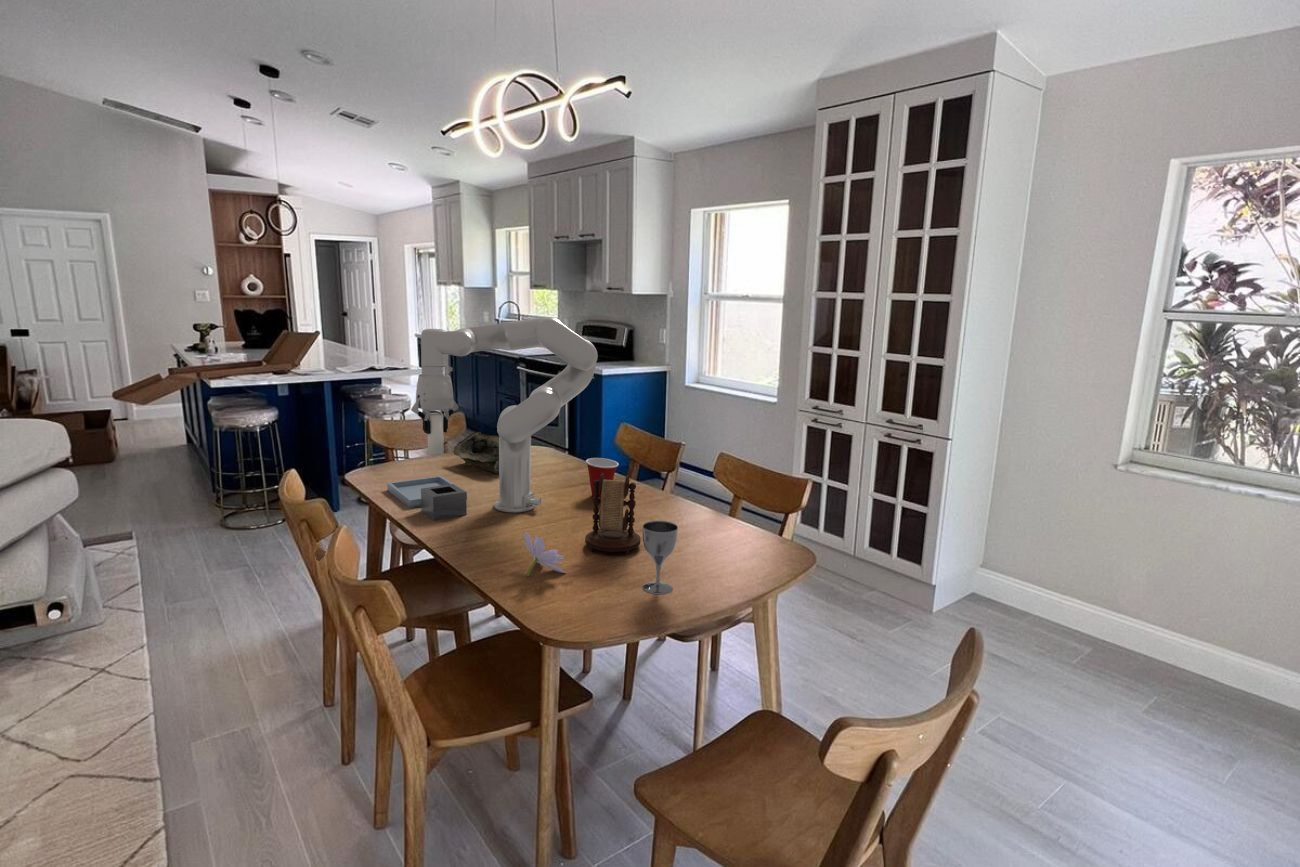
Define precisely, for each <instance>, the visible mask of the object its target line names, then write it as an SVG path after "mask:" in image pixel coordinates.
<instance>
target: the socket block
mask: <svg viewBox="0 0 1300 867" xmlns="http://www.w3.org/2000/svg"><path fill="white" fill-rule="evenodd" d="M454 484H455V483H453V484H449V485H442V486H435V487H428V488H421V507H420V508H421V512H422V513H423V514H425V515H426V516H428V517H429V518H430V519H431V520H433V521H439V520H443V519H450V518H454V517H459V516H460V517H461V516H466V515H467V514H468V512H467V507H468V506H467V499H466V492H467V491H466V490H465V489H463V488H461V487H460V486H458V485H457V484H455V485H454ZM456 485H457V486H458V487H457V486H456ZM459 487H460V488H459ZM462 489H463V490H462ZM464 490H465V491H466V492H465V491H464Z"/></svg>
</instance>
